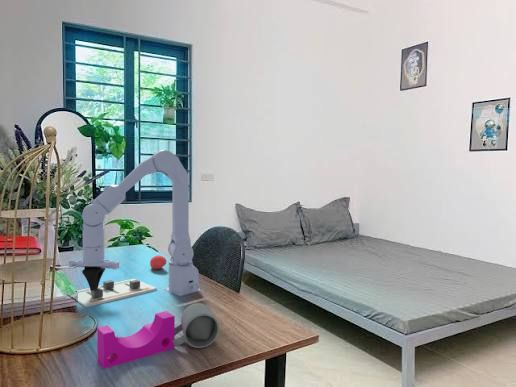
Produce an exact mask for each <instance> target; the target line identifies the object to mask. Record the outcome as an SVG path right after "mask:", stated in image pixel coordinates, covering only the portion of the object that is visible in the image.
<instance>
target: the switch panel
mask: <svg viewBox="0 0 516 387" xmlns="http://www.w3.org/2000/svg"><path fill="white" fill-rule="evenodd" d="M133 280H138V279H136V278H130V279H125V280H122V281H116V282H115V281H114V288H111V289H104V288H103V284H101V285H98V288H100V289H102V290H103V297H99V298H93V297H92V295H91V290H90V287H89V288H88V287H87V288H83V289H78V290H76V291H77V292H78V302H77V303H79V304H80V305H82V306H83V307H84V308H89V307H93V306H96V305H102V304H104V303H110V302H115V301H118V300H123V299H127V298H130V297H135V296H139V295H143V294H148V293H150V292H155V291H158V288H157V287H156V286H153V285H150V284H148V283H146V282H144V281H142V280H139V281H140V288H135V289H132V288H130V281H133Z"/></svg>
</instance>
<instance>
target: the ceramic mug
mask: <svg viewBox="0 0 516 387" xmlns="http://www.w3.org/2000/svg"><path fill="white" fill-rule="evenodd" d="M180 320H181V323H180V324H178V325H177V326H175V336H177V335H178V334H179V333H180V332H182V333H183V335H181V336H180V337H176V338H175V339H174V340H173V344H174V346H175V347H176V346H180V345H182V344H185V343H186V344H187V345H189V346H190V347H192V348H195V349H203V348H206V347H209V346H210V345H212V344H213V343H214V342H215V341H216V339H217V337H218V335H219V331H220V328H219V327H220V325H219V322H218V319H217V318H216V316H215V314H214V313H213V312H212V310H211V308H209V306H207V305H206V304H204V303H201V302H200V303H199V302H196V303H192V304H189V305H188V306H187V307H186V308H185V309H184V310H183V312H182V314H181V318H180Z"/></svg>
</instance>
